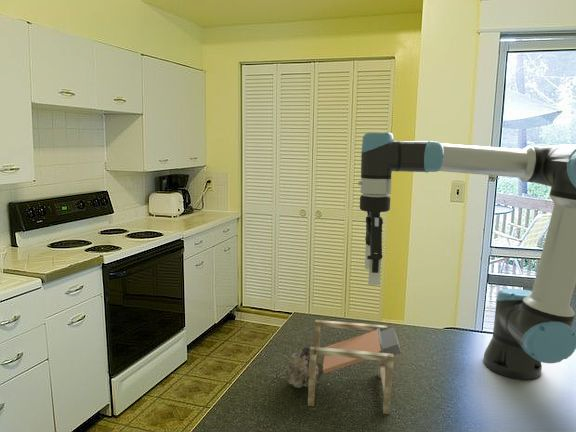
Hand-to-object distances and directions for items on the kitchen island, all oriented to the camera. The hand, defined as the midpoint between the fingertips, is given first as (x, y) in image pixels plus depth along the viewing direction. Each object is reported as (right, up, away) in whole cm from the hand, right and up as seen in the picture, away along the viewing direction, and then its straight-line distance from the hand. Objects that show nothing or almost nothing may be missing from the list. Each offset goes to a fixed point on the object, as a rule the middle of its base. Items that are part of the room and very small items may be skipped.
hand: (371, 276), depth 115 cm
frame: (-6, -29, 0) cm, 30 cm away
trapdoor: (-3, -20, -2) cm, 20 cm away
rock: (-14, -22, -3) cm, 26 cm away
